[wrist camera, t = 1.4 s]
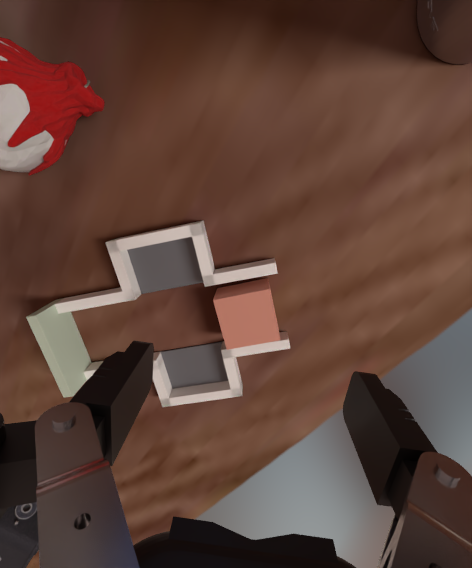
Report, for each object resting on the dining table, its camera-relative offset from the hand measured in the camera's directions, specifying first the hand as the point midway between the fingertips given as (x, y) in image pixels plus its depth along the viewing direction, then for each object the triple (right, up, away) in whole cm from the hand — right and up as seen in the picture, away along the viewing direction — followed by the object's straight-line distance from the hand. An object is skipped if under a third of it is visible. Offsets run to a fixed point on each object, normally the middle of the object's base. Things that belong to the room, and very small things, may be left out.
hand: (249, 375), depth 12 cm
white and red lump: (-20, +21, +18) cm, 34 cm away
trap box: (-8, -1, +24) cm, 25 cm away
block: (+1, +1, +23) cm, 23 cm away
